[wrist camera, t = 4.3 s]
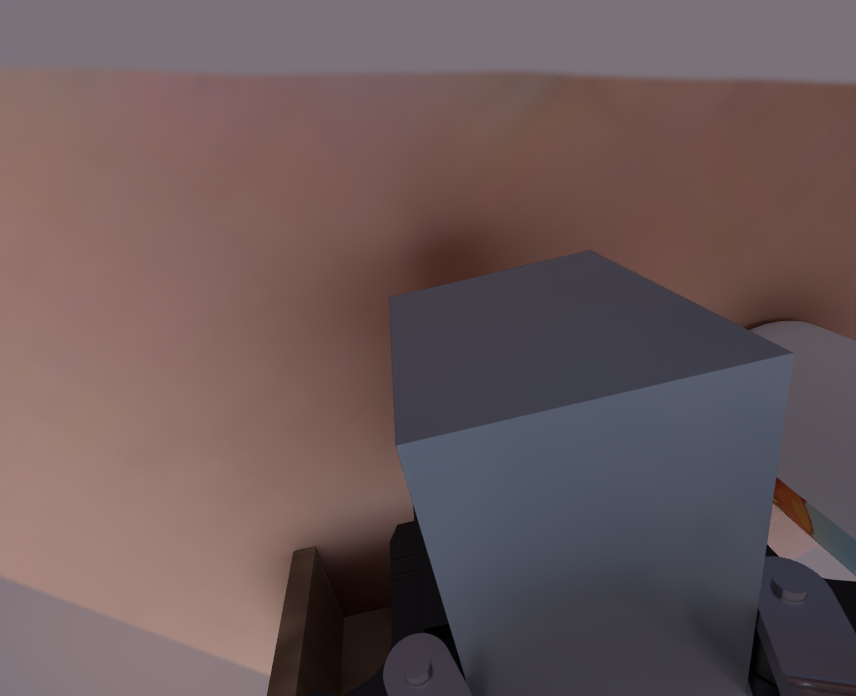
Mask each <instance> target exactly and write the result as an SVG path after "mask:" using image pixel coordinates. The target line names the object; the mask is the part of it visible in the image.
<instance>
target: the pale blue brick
mask: <svg viewBox="0 0 856 696" xmlns="http://www.w3.org/2000/svg"><path fill="white" fill-rule="evenodd" d="M389 302H390V326H391V349H392V373H393V397H394V420H395V444H396V449H397V452H398V455H399V459H400V462H401V465H402V469H403V472H404V475H405V479H406V482H407V485H408V489H409V492H410V495H411V499H412V502H413V505H414V509H415V512H416V515H417V519H418V522H419V525H420V529H421V532H422V535H423V539H424V542H425V545H426V549H427V552H428V555H429V559H430V562H431V565H432V569H433V572H434V575H435V579H436V582H437V585H438V589H439V592H440V595H441V599H442V602H443V605H444V609H445V612H446V615H447V618H448V622H449V625H450V628H451V632H452V635H453V638H454V642H455V645H456V648H457V652H458V655H459V658H460V662H461V665H462V668H463V672H464V675H465V678H466V682H467V685H468V687H469V689H470V691H471V693H472V695H473V696H745V695H746V694H745V691H746V685H747V679H748V674H749V667H750V660H751V653H752V646H753V639H754V631H755V624H756V617H757V610H758V603H759V596H760V589H761V582H762V575H763V567H764V560H765V553H766V546H767V539H768V532H769V525H770V518H771V510H772V503H773V496H774V489H775V482H776V475H777V468H778V461H779V454H780V446H781V439H782V432H783V425H784V418H785V411H786V404H787V397H788V390H789V382H790V375H791V368H792V361H793V354H794V353H793V352H791V351H789V350H787V349H785V348H783V347H781V346H779V345H777V344H775V343H773V342H771V341H769V340H767V339H765V338H763V337H761V336H759V335H757V334H755V333H753V332H751V331H749V330H747V329H746V328H744V327H742V326H740V325H738V324H736V323H734V322H732V321H730V320H728V319H726V318H724V317H722V316H720V315H718V314H716V313H714V312H712V311H710V310H708V309H706V308H704V307H702V306H700V305H698V304H696V303H694V302H692V301H690V300H688V299H686V298H684V297H682V296H680V295H678V294H676V293H674V292H672V291H670V290H668V289H666V288H664V287H662V286H660V285H658V284H656V283H655V282H653V281H651V280H649V279H647V278H645V277H643V276H641V275H639V274H637V273H635V272H633V271H631V270H629V269H627V268H625V267H623V266H621V265H619V264H617V263H615V262H613V261H611V260H609V259H607V258H605V257H603V256H601V255H599V254H597V253H595V252H593V251H591V250H588V251H584V252H580V253H575V254H571V255H567V256H563V257H558V258H554V259H550V260H546V261H541V262H537V263H533V264H529V265H524V266H520V267H516V268H512V269H507V270H503V271H499V272H495V273H490V274H486V275H482V276H478V277H473V278H469V279H465V280H461V281H456V282H452V283H448V284H444V285H439V286H435V287H431V288H427V289H422V290H418V291H414V292H410V293H405V294H401V295H397V296H392V297H389Z"/></svg>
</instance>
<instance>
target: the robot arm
mask: <svg viewBox="0 0 856 696" xmlns="http://www.w3.org/2000/svg"><path fill="white" fill-rule="evenodd" d="M413 509H414V505H413ZM414 520H415V521H412V522H407V523H403V524H398V525H397V527H396V529H395V532H394V534H393V536H392V539H391V541H390V561H391V564H390V567H391V618H392V642H391V647H390V651H389V653H388V656H387V658H386V660H385V662H384V663H383V665H382V666H381V668H380V669H379V670H378V671H377V673H376V674H375V675H373V676H372V677H371V678H370V679H369V680H367V681H366V682H364V683H363V684H361V685H360V686H358V687H356V688H355V689H353V690H351V691H350V692H348V693H347V694H345V695H343V696H473V695H472V693H471V691H470V689H469V687H468V685H467V682H466V678H465V675H464V672H463V668H462V665H461V662H460V658H459V655H458V652H457V648H456V645H455V642H454V638H453V635H452V632H451V628H450V625H449V622H448V618H447V615H446V612H445V609H444V605H443V602H442V599H441V595H440V592H439V589H438V585H437V582H436V579H435V575H434V572H433V569H432V565H431V562H430V559H429V555H428V552H427V549H426V545H425V542H424V539H423V535H422V532H421V529H420V525H419V522H418V519H417V515H416V512H415V509H414ZM745 694H746V696H856V582H854V581H842V580H831V579H825V578H822V577H820V576H819V575H818V574H817V573H816V572H814V571H813V570H812V569H810V568H808V567H807V566H805V565H803V564H801V563H799V562H796V561H793V560H791V559H787V558H783V557H779V556H778V555H777V554H776V553H775V552H774V551H773V550H772V549H771V548H770V547H769V546H768V545H767V546H766V553H765V560H764V567H763V575H762V582H761V589H760V596H759V603H758V610H757V617H756V624H755V631H754V639H753V646H752V653H751V660H750V667H749V674H748V679H747V685H746V691H745ZM305 696H337V695H336V694H334V693H332V692H329V691H316V692H312V693H310V694H307V695H305Z"/></svg>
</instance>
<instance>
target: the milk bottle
mask: <svg viewBox="0 0 856 696" xmlns="http://www.w3.org/2000/svg"><path fill="white" fill-rule="evenodd" d="M749 331H751V332H753V333H755V334H757V335H759V336H761V337H763V338H765V339H767V340H769V341H771V342H773V343H775V344H777V345H779V346H781V347H783V348H785V349H787V350H789V351H791V352H793V353H794V354H793V361H792V368H791V375H790V382H789V390H788V397H787V404H786V411H785V418H784V425H783V432H782V439H781V446H780V454H779V461H778V468H777V475H776V482H775V489H774V496H773V503H774V504H775V505H776V506H777V507H778V508H779V509H780V510H781V511H783V512H784V513H785V514H786V515H787V516H788V517H789V518H790V519H792V520H793V521H794V522H795V523H796V524H797V525H798V526H799V527H800V528H802V529H803V530H804V531H805V532H806V533H807V534H808V535H810V536H811V537H812V538H813V539H814V540H815V541H816V542H818V543H819V544H820V545H821V546H822V547H823V548H824V549H825V550H827V551H828V552H829V553H830V554H831V555H832V556H834V557H835V558H836V559H837V560H838V561H839V562H840V563H841V564H843V565H844V566H845V567H846V568H847V569H848V570H849V571H851V572H852V573H853V574H854V575H855V576H856V341H855V340H853V339H850V338H848V337H845V336H843V335H840V334H838V333H835V332H833V331H830V330H827V329H825V328H822V327H819V326H817V325H814V324H811V323H807V322H802V321H778V322H773V323H767V324H763V325H761V326H758V327H755V328H752V329H750V330H749Z"/></svg>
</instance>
